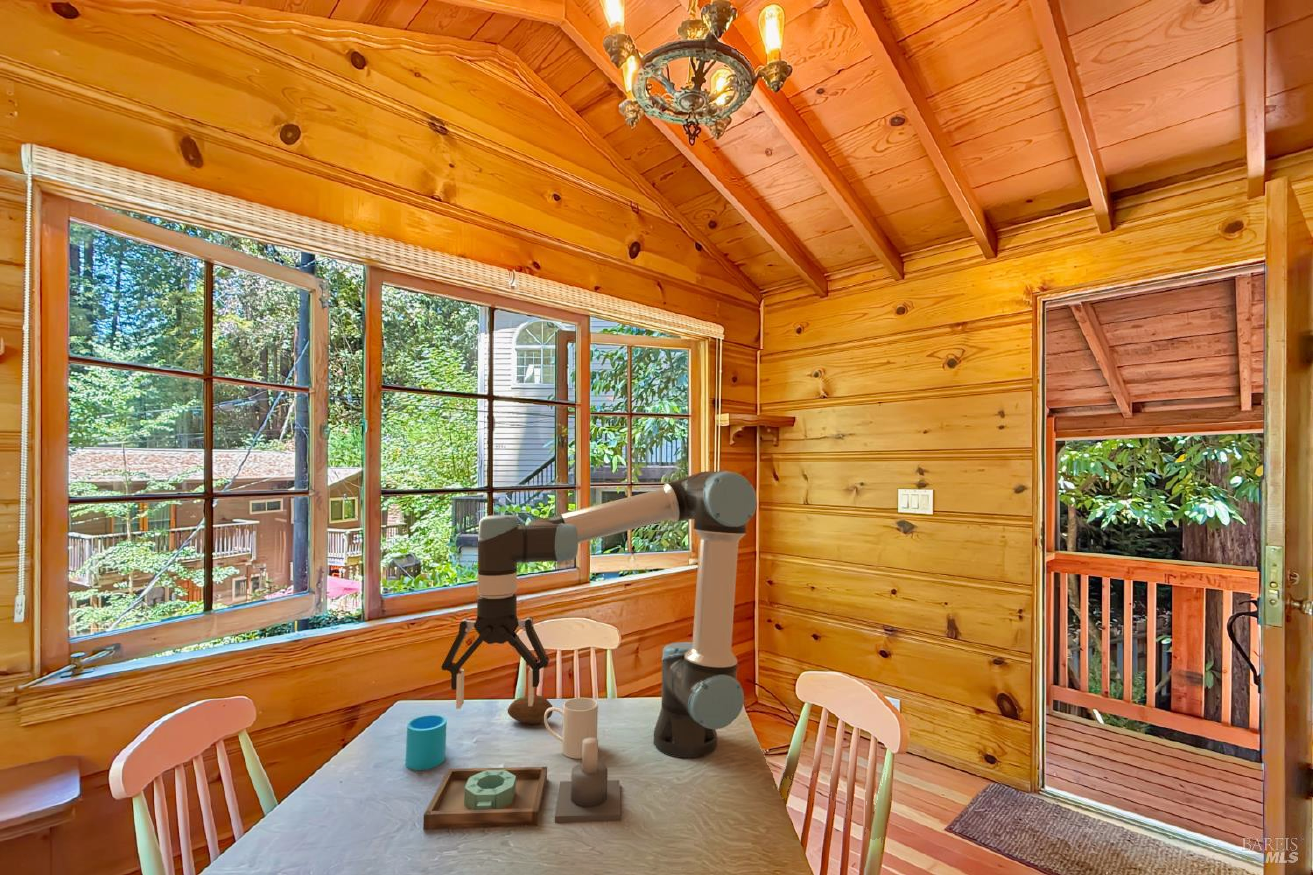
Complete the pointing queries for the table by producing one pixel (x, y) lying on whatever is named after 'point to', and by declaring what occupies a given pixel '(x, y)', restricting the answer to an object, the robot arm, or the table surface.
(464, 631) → the robot arm
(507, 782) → the ring
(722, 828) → the table surface
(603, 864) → the table surface
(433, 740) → the mug
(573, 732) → the mug
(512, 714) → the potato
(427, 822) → the tray
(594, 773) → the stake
